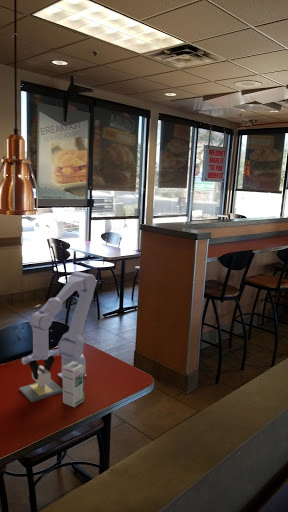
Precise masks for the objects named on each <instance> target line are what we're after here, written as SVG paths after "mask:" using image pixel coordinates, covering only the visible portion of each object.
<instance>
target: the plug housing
mask: <svg viewBox="0 0 288 512" xmlns="http://www.w3.org/2000/svg"><path fill="white" fill-rule="evenodd" d="M44 367H45V366H43V365H39V366H38V379H37V380H36V379H34V377H33V373H32V372H31V378H32V380H34V381H35V383H38V384H40V385H41V386H42V385H46V384H49V383H51V379H52V376H51V375H52V374H51V373H52V372H51V371H50V372H49V371H48V370H46V369H45V368H44Z"/></svg>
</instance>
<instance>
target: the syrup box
mask: <svg viewBox="0 0 288 512" xmlns="http://www.w3.org/2000/svg"><path fill="white" fill-rule="evenodd" d="M61 373H62V374H63V379H62V389H63V392H62V402H63V403H64V405H65V404H66V405H67V406H70V407H73V408H76V407H77V406H79V405H80V404H81V403H84V401H85V377H84V365H83V364H81V363H78V362H74V361H73V362H71V363H69V364H67V365H65V366H63V367H62V366H61Z"/></svg>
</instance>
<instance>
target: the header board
mask: <svg viewBox="0 0 288 512" xmlns="http://www.w3.org/2000/svg"><path fill="white" fill-rule="evenodd" d="M19 391H20V392H21V393H22V395H24V397H25V398H26V399H28V400H29V402H30V403H35V402H37V401H41V400H43V399H46V398H49V397H53V396H56V395H58V394H60V393H61V394H62V393H63V387H61V386H60V385H59V384H57V382H55V381H54V380H53V379H52V378H51V383H49V384H46V385H42V386H41V385H40V384H38V383H37V382H33V383H31V384H28V385H25V386H24V385H23V386H20V387H19Z"/></svg>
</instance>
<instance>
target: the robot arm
mask: <svg viewBox="0 0 288 512" xmlns="http://www.w3.org/2000/svg"><path fill="white" fill-rule="evenodd" d="M97 283H98V281H97V279H96V276H95V275H94V274H92V273H87V272H86V273H85V272H80V271H77V270H75V271H72V272H71V274H70V275H69V276H68V278H67V282H66V284H65V285H64V286H63V287H62V288H61V290H60V291H59V293H58V294H57V295H55V297H51V298H48V300H47V301H46V303H45V304H44V305H43V306H42V307H41V308H40V309H39V310H38V311H36V312H33V313H32V314H31V315H30V319H29V320H28V323H29V325H30V326H31V331H32V353H31V354H29V355H27V356H23V357H22V358H21V364H22V365H27V364H28V365H29V367H30V369H31V374H32V373H33V377H34V379H36V380H37V379H38V366H40V365H39V363H38V362H37V361H41V360H42V361H43V364H44V366H43V367H44V368H45V369H46V370H48V371H49V372H50V373H51V368H52V366H53V364H54V362H55V360H56V359H55V357H56V356H57V357H58V356H61V368H62V367H63V366H65V365H67V364H69V363H71V362H73V361H74V362H78V363H81V364H83V365H84V378H85V377H87V373H86V365H87V364H86V363H87V362H86V357H85V355H84V354H83V353H84V344H85V340H84V338H83V337H82V333H83V329H84V327H85V324H86V320H87V316H88V313H89V310H90V307H91V303H92V301H93V297H94V293H95V289H96V286H97ZM74 292H77V294H78V295H79V296H78V300H77V303H76V307H75V310H74V313H73V314H72V319H71V322H70V325H69V329H68V331H67V332H66V333H63V335H62V336H61V338H60V340H59V342H58V344H57V348H56V349H51V350H50V349H49V328H50V327H51V326H52V323H53V321H54V318H55V316H56V315H57V314H58V313H59V312H60V311H61V310H62V309H63V303H64V302H65V301H67V299H68V298H69V297H70V296H72V294H74ZM57 376H58V377H60V378H61V380H63V374H62V372H60V373H57ZM34 379H33V380H34Z"/></svg>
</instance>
